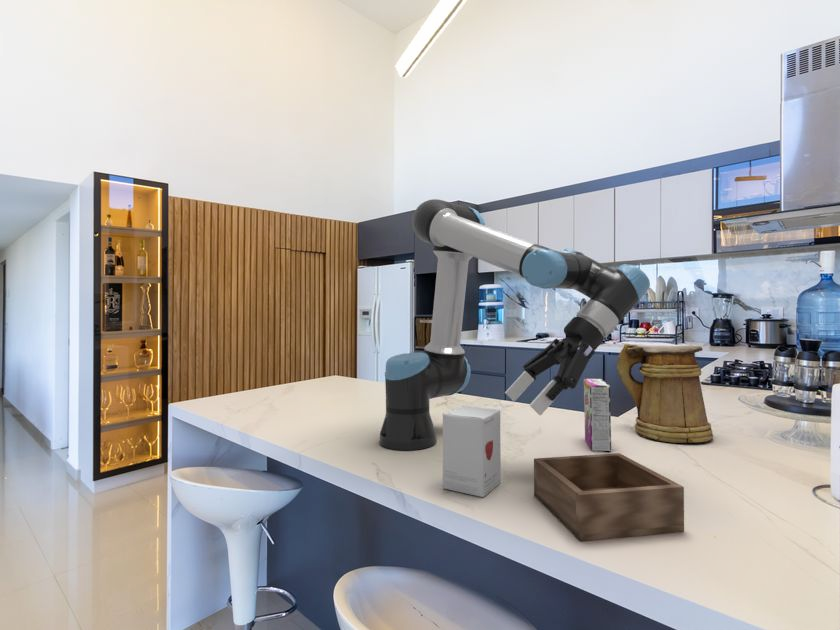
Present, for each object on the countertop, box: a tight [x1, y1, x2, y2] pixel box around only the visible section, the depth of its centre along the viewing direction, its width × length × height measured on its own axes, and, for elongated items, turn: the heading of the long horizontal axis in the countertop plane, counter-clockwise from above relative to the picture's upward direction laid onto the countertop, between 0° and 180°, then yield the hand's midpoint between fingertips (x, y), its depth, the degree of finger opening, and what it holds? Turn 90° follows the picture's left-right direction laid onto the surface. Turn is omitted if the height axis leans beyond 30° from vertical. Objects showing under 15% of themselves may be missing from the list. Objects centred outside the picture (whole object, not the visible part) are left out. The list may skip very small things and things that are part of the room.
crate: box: [533, 452, 685, 542], centre depth 79 cm, size 17×17×7 cm
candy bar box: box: [583, 378, 612, 453], centre depth 118 cm, size 11×5×16 cm, turn 168°
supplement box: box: [442, 405, 502, 498], centre depth 92 cm, size 9×9×15 cm
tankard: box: [616, 343, 714, 444], centre depth 127 cm, size 18×24×25 cm
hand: (521, 403), depth 93 cm, fingers open, 13 cm apart
